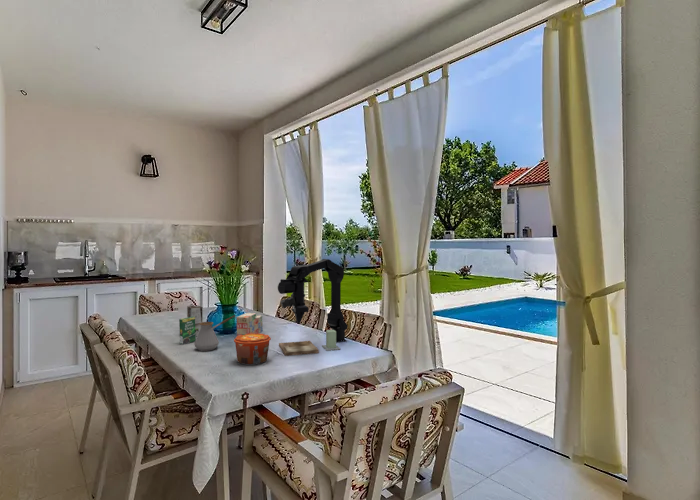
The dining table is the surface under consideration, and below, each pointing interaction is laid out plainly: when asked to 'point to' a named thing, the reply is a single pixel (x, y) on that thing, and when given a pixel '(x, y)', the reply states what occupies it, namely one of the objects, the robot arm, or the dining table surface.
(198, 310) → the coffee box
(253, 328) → the stack of blocks
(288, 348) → the sliding lid
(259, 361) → the food container
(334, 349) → the rubber mat
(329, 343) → the sage block
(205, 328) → the coffee pot
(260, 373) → the dining table surface
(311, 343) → the well board
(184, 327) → the coffee box
